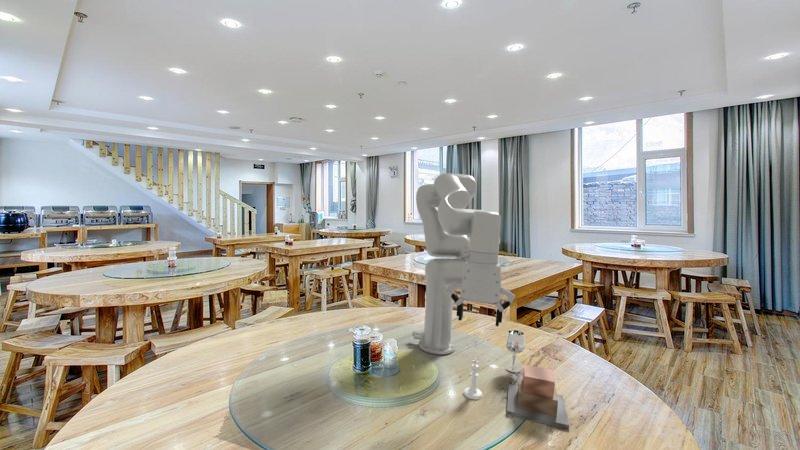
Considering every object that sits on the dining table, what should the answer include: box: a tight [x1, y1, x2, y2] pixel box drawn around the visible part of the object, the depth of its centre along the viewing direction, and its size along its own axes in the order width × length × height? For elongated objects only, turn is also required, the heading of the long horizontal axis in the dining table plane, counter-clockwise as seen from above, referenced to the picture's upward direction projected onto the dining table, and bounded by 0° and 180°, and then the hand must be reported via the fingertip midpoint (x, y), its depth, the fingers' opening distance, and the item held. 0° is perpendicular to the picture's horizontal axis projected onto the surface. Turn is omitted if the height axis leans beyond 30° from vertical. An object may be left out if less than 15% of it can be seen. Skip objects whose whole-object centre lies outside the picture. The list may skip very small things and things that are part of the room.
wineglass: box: [505, 329, 526, 370], centre depth 112 cm, size 6×6×12 cm
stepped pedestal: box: [506, 364, 570, 430], centre depth 92 cm, size 14×14×9 cm
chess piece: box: [463, 358, 483, 401], centre depth 96 cm, size 5×5×10 cm
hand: (478, 321), depth 95 cm, fingers open, 9 cm apart
